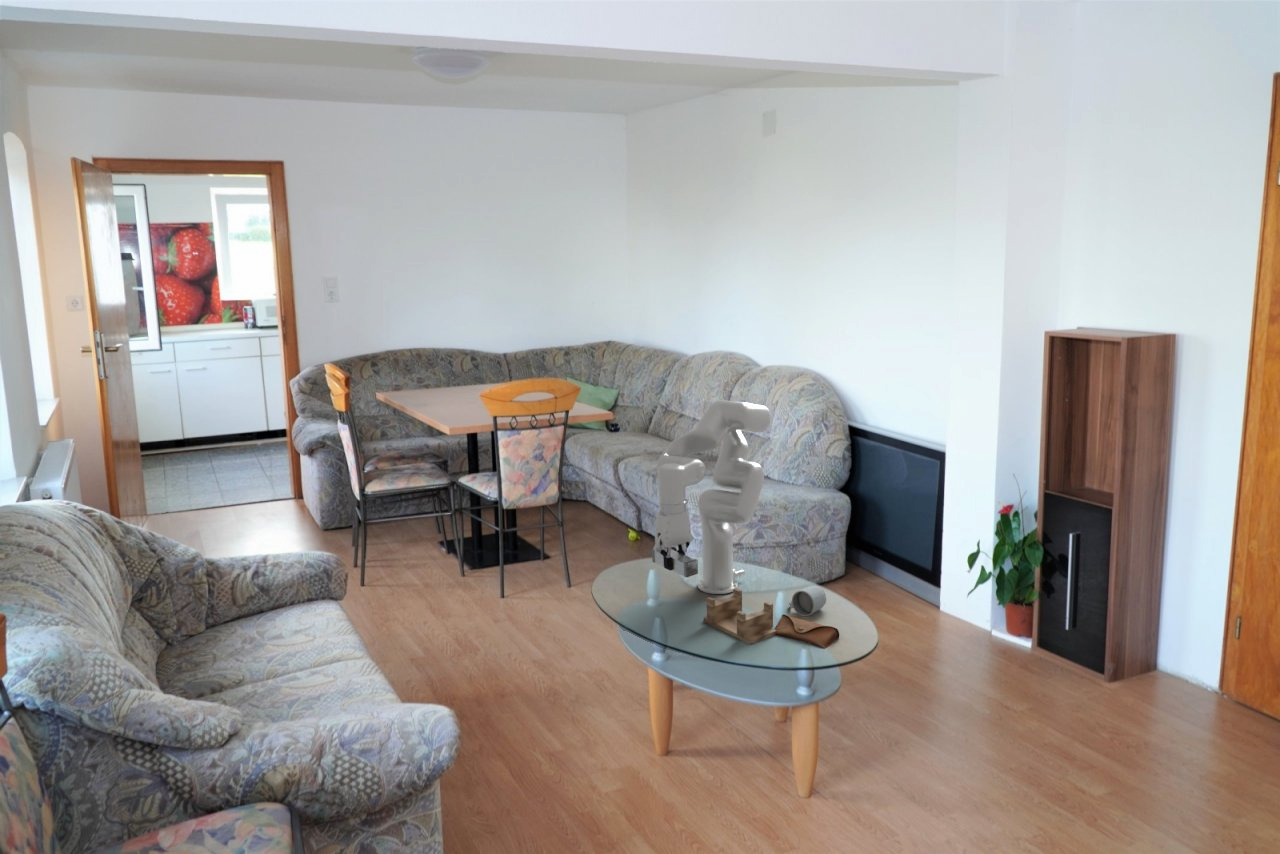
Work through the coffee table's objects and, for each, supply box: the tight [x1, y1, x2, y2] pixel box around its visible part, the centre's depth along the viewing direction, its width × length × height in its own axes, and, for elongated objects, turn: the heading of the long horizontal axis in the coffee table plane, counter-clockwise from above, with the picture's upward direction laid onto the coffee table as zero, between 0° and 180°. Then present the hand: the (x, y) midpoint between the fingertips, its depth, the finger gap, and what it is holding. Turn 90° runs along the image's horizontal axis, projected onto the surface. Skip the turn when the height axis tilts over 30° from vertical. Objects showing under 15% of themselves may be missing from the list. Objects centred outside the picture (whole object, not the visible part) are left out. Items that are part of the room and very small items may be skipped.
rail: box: [651, 545, 699, 578], centre depth 295 cm, size 4×16×4 cm, turn 36°
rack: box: [703, 587, 777, 645], centre depth 290 cm, size 11×20×8 cm, turn 36°
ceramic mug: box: [788, 585, 827, 617], centre depth 301 cm, size 11×8×8 cm
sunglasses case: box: [774, 613, 840, 649], centre depth 285 cm, size 18×7×7 cm, turn 54°
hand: (674, 566), depth 295 cm, fingers closed on rail, 4 cm apart
